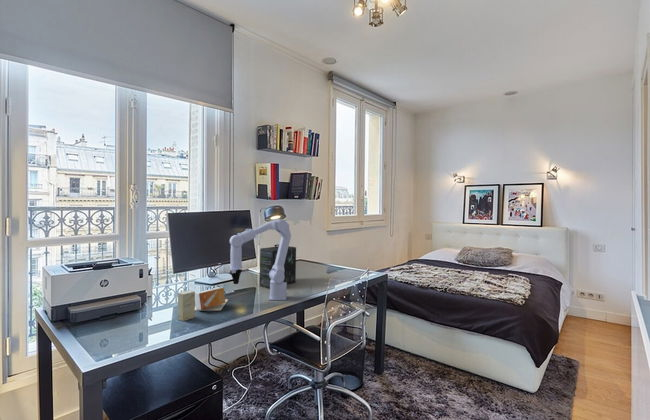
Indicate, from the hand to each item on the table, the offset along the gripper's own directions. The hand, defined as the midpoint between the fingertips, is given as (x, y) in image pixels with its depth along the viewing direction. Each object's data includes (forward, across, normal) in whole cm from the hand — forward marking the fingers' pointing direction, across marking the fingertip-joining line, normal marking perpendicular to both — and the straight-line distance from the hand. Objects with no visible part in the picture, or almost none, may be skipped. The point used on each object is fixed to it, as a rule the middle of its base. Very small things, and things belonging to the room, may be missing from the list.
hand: (236, 283), depth 174 cm
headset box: (+11, -38, +20) cm, 44 cm away
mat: (+10, +3, -12) cm, 16 cm away
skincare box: (+10, +22, -18) cm, 30 cm away
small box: (+5, +3, -6) cm, 8 cm away
